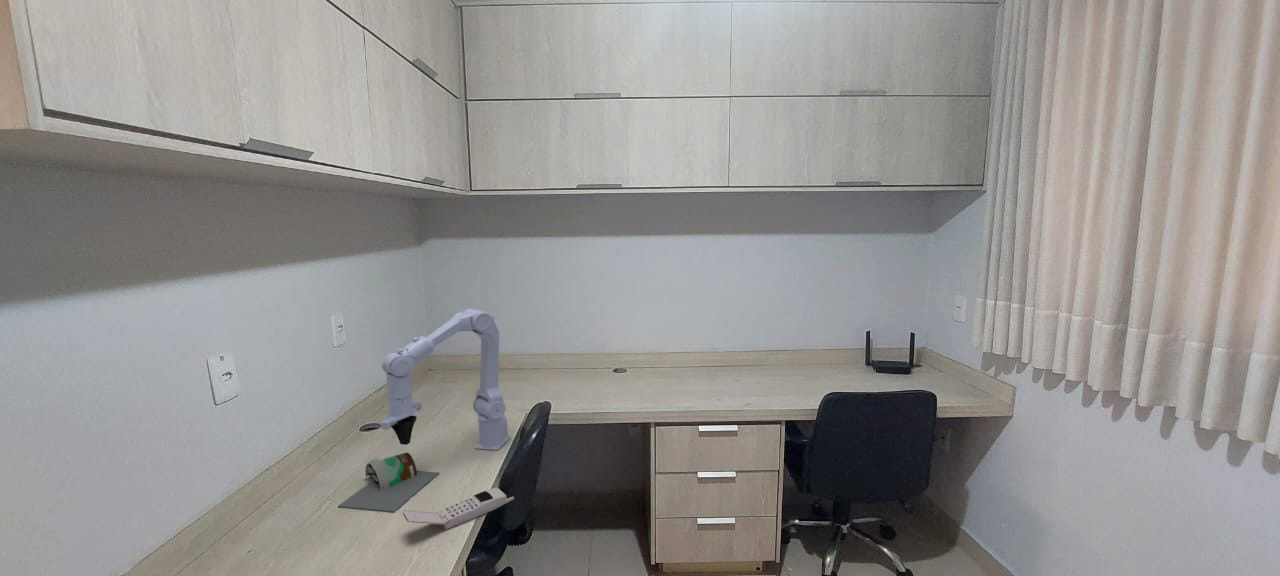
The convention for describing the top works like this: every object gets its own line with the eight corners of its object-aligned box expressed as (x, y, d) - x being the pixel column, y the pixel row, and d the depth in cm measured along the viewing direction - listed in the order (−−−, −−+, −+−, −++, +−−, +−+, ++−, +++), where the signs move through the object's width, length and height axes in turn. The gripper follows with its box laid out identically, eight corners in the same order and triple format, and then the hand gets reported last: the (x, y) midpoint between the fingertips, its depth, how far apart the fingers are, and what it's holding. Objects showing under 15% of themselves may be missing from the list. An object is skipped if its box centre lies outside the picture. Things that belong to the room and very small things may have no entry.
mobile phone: (400, 510, 113) (503, 471, 129) (403, 534, 114) (505, 492, 130) (408, 522, 108) (514, 480, 124) (411, 547, 109) (515, 502, 125)
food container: (417, 455, 138) (379, 469, 131) (419, 476, 139) (381, 491, 131) (399, 443, 146) (362, 455, 139) (401, 462, 147) (365, 476, 140)
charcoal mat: (389, 470, 144) (389, 468, 144) (439, 473, 141) (439, 472, 141) (338, 507, 125) (337, 505, 125) (394, 512, 122) (394, 511, 122)
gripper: (404, 387, 144) (409, 431, 146) (368, 405, 130) (374, 454, 132) (426, 388, 143) (430, 432, 145) (392, 406, 129) (397, 456, 131)
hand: (405, 443), depth 138 cm, fingers closed
